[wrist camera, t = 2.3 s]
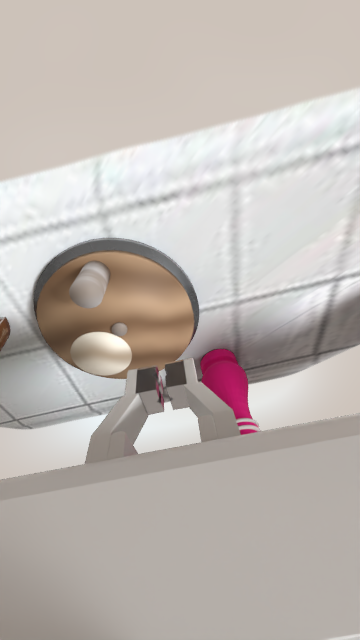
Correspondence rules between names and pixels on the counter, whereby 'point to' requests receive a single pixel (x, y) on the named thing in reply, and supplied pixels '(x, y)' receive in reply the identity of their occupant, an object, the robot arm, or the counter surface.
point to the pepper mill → (229, 386)
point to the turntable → (115, 313)
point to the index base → (121, 246)
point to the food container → (4, 331)
